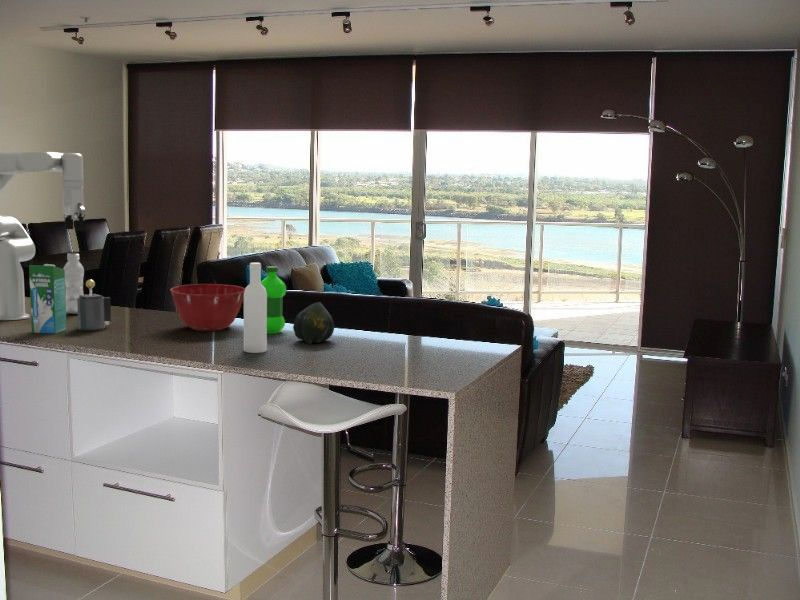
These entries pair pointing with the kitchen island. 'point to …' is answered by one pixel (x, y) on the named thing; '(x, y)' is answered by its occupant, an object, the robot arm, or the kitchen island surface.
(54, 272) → the milk carton
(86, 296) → the carafe
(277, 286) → the plastic bottle
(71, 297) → the plastic bottle
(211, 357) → the kitchen island surface
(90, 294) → the plunger
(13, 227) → the robot arm
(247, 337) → the bottle
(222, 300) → the mixing bowl
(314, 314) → the squash
